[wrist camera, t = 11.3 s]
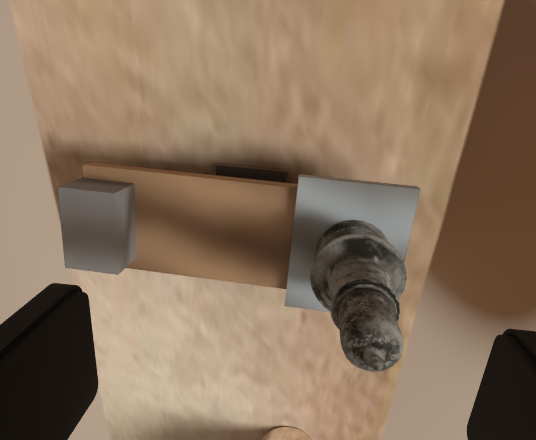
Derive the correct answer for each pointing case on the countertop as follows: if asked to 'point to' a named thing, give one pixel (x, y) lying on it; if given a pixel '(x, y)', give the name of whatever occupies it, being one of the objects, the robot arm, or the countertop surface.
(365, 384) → the countertop surface
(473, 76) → the countertop surface
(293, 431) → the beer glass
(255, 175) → the beam stand
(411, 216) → the beam
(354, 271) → the chess piece
